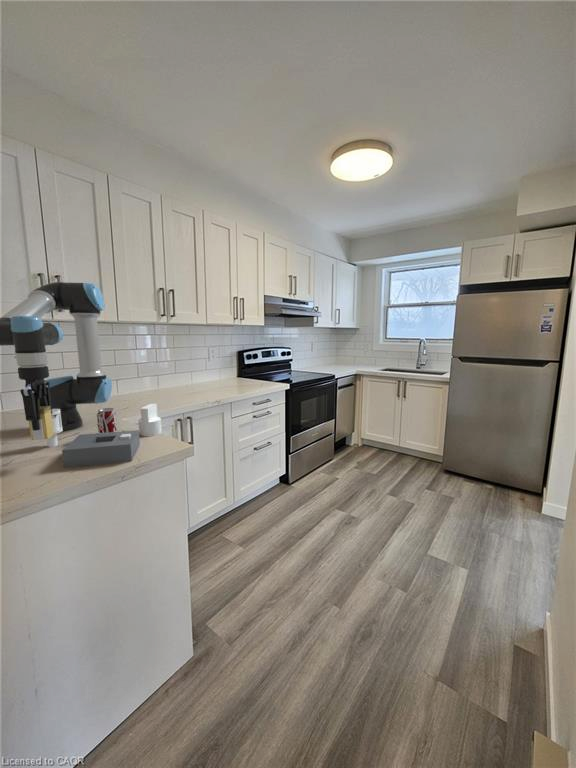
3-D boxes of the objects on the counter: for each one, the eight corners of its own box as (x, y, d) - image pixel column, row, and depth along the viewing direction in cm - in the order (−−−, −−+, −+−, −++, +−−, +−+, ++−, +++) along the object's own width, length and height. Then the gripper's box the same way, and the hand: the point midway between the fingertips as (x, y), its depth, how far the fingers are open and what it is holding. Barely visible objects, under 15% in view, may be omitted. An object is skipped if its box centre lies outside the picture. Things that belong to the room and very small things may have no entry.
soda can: (100, 436, 131) (97, 408, 130) (118, 434, 134) (116, 407, 132) (98, 441, 125) (95, 412, 123) (116, 438, 128) (114, 410, 126)
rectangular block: (38, 435, 104) (34, 406, 102) (53, 434, 105) (50, 405, 103) (31, 440, 100) (26, 410, 98) (47, 438, 101) (43, 409, 99)
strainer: (61, 441, 125) (56, 405, 122) (66, 445, 120) (62, 407, 118) (39, 446, 120) (34, 408, 117) (44, 450, 115) (39, 411, 113)
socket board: (81, 450, 116) (79, 432, 115) (139, 444, 121) (138, 428, 120) (64, 467, 101) (61, 447, 100) (131, 460, 106) (130, 441, 105)
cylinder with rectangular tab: (145, 429, 141) (143, 403, 139) (165, 429, 140) (163, 403, 138) (135, 436, 132) (133, 408, 130) (156, 436, 132) (154, 408, 130)
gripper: (32, 363, 105) (41, 428, 110) (2, 370, 89) (14, 447, 93) (58, 362, 107) (66, 427, 112) (33, 369, 91) (44, 444, 95)
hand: (42, 436), depth 102 cm, fingers closed on rectangular block, 4 cm apart
